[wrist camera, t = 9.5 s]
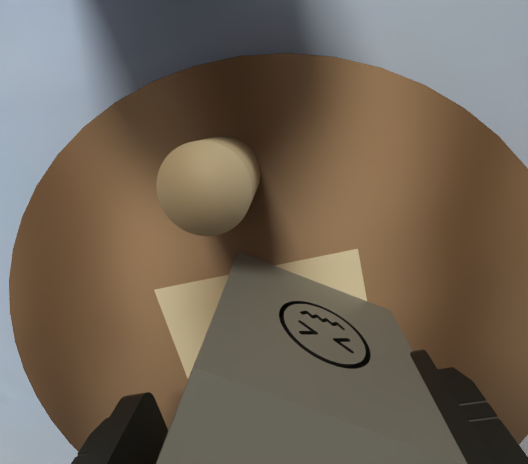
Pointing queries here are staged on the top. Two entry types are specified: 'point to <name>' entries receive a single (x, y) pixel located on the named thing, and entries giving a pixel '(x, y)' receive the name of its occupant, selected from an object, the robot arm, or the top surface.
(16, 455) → the top surface
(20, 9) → the top surface
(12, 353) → the top surface
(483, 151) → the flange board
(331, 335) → the dice cube
